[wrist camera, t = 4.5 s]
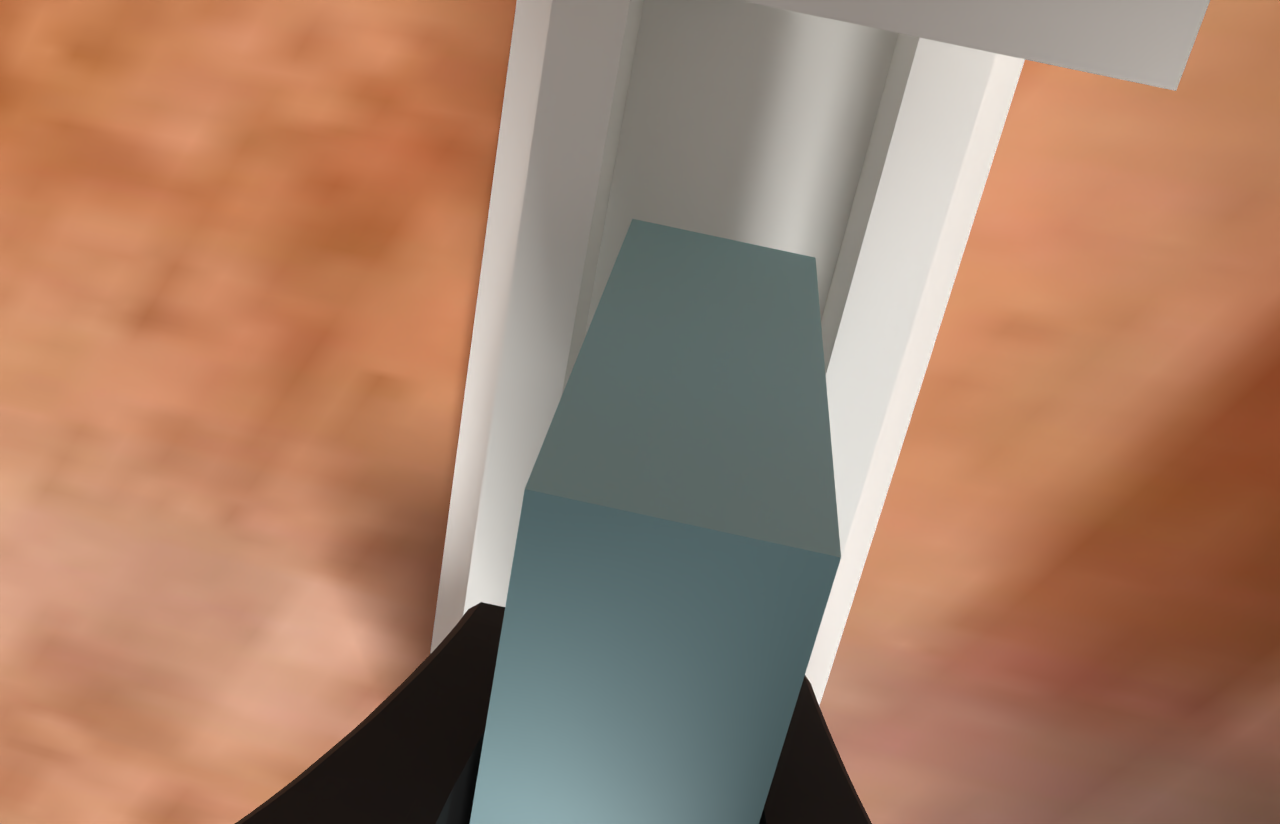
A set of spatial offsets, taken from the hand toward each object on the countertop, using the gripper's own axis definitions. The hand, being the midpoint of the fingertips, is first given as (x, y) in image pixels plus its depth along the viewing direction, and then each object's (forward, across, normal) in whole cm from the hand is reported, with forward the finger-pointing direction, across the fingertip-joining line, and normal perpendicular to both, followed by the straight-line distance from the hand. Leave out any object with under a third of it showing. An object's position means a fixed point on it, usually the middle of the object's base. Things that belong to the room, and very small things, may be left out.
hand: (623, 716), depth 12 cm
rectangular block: (+3, 0, 0) cm, 3 cm away
